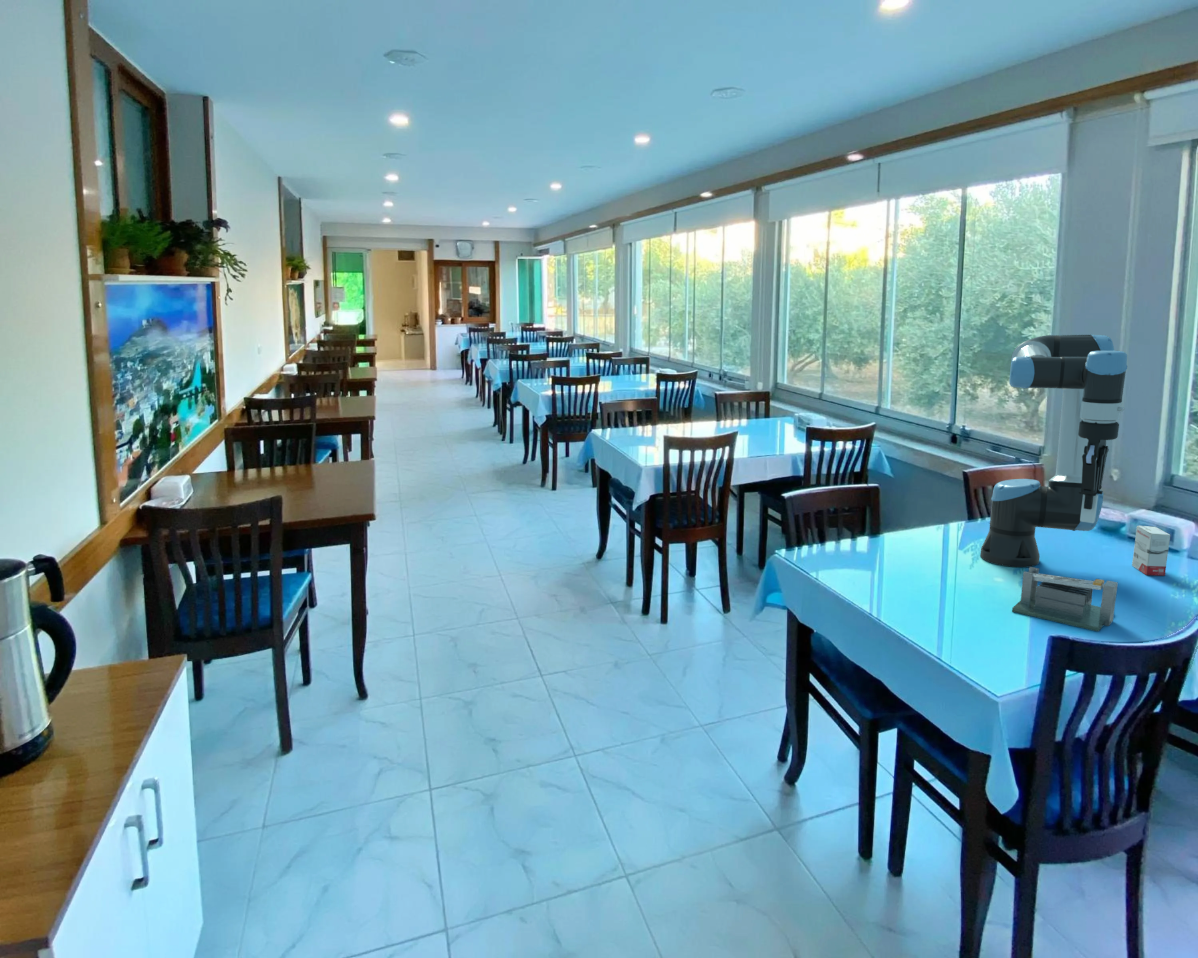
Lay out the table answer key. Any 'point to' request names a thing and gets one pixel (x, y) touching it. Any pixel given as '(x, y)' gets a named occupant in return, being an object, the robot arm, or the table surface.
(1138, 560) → the ink box
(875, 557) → the table surface
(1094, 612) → the heatsink
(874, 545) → the table surface
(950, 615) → the table surface
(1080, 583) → the strap
